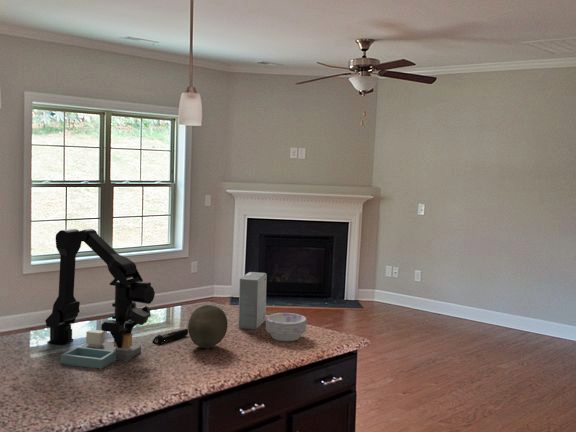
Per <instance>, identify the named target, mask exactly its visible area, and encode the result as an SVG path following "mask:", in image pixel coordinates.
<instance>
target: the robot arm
mask: <svg viewBox="0 0 576 432" xmlns="http://www.w3.org/2000/svg"><path fill="white" fill-rule="evenodd" d="M82 242H84V244H86V245H87V246H88V247H89V248H90V249H91V250H92V251H93V253H95V254H96V255H97V256H98V257H99V258H100V259H101V260H102V261H103V262H104V263H105V265H107V269H108V272H109V273H110V275H111V276H112V277H113V279H112V280H111V282H109V285H110V286H114V287H115V288H114V302H113V303H112V305H111V307H113V308H114V314H113V315H112V316H111V319H108V320H106V321H103V322H102V323H101V328H100V330H101V331H105V332H107V333H108V332H109V333H110V334H111V336H112V338H113V341H114V340H115V342H116V344H117V346H118V348H122V343H123V336H124V333H128V334H132V332H133V329H134V328H135V327H136V326H137V325H140V326H143V325H144V324H147V322H148V319H149V318H150V317H151V309H150V307H149V306H147V305H149V304H151V303H152V302H153V300H154V299H155V295H156V294H155V292H156V291H155V290H154V287H153V286H152V283H151V282H150V281H149V282H148V281H147V282H145V281H144V279H143V278H142V276H141V274H140V272H139V271H138V269H137V265H136V264H135V262H134V261H133V260H131V259H129V258H128V257H126V256H123V255H121V254H119V253H117V251H116V250H115V249H113V247H112V246H110V245H109V243H108V242H106V241H105V240H104V239H103V238H102V237H101V236H100V235H99V234H98V232H97V231H96V230H95V229H93V228H88V229H87V228H86V229H83V230H78V229H77V228H71V229H62V230H59V231H58V232H57V233H56V234H55V247H56V249H57V251H58V253H59V256H60V258H59V259H60V260H59V277H58V279H59V280H58V296H57V297H56V300H55V301H54V302H53V305H52V310H51V314H50V315H49V316H47V318H46V319H45V325H46V327H47V328H48V327H49V340H48V341H46V343H47V344H52V345H53V344H54V345H59V346H61V345H62V346H64V345H67V344H69V343H70V342H73V341H74V338H73V328H72V324H74V323H75V322H76V318H77V317H78V316H79V313H80V305H81V303H80V302H81V301H80V300H78V301H77V299H76V298H75V296H74V294H75V275H76V260H77V259H76V257H77V254H78V253H79V251H80V249H81V247H82ZM136 303H140V304H146V306H143V307H137V304H136Z"/></svg>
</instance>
